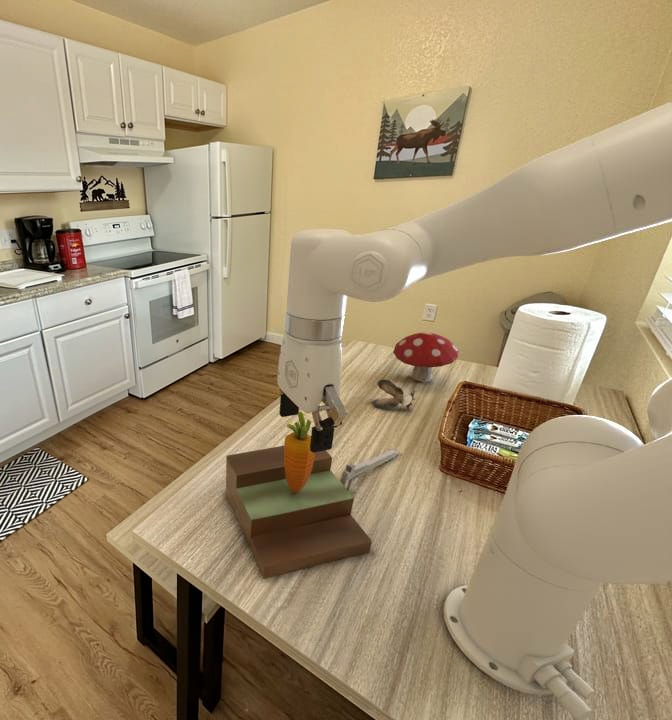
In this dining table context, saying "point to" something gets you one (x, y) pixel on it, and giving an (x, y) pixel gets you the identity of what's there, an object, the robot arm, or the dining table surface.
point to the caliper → (364, 468)
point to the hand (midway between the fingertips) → (303, 431)
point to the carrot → (298, 455)
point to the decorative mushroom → (425, 353)
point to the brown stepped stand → (292, 512)
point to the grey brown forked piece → (395, 392)
